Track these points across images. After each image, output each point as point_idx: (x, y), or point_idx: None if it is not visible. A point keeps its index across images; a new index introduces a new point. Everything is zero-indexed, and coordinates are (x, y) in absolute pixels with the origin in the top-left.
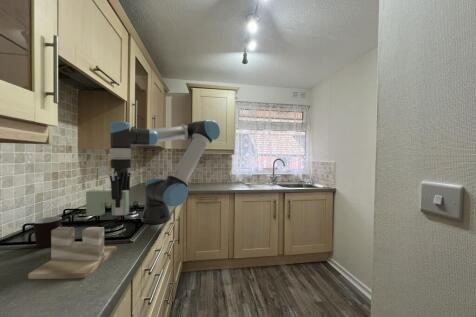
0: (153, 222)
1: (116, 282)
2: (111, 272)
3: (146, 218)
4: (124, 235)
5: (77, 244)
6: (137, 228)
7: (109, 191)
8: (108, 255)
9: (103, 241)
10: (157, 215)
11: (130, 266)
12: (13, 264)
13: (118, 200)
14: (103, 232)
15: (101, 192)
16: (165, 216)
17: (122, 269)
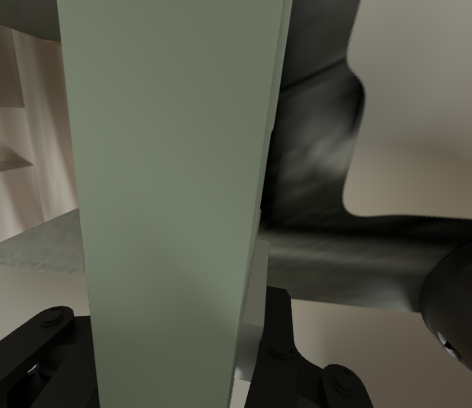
0: (426, 296)
1: (13, 260)
2: (43, 239)
3: (463, 276)
4: (292, 200)
5: (6, 137)
6: (377, 232)
7: (100, 307)
8: None
9: (39, 222)
10: (453, 338)
11: (71, 272)
12: None
13: None
14: (3, 237)
15: (89, 145)
16: (460, 358)
17: (57, 259)
